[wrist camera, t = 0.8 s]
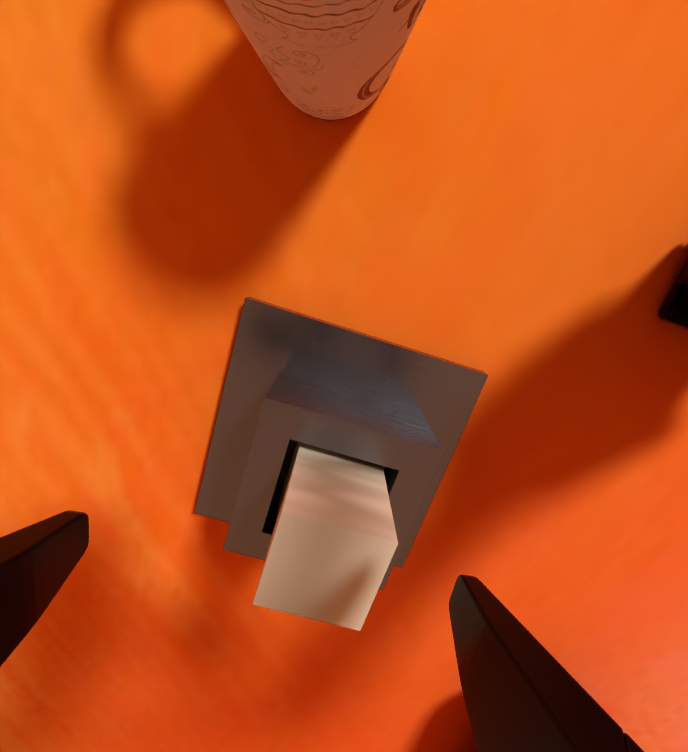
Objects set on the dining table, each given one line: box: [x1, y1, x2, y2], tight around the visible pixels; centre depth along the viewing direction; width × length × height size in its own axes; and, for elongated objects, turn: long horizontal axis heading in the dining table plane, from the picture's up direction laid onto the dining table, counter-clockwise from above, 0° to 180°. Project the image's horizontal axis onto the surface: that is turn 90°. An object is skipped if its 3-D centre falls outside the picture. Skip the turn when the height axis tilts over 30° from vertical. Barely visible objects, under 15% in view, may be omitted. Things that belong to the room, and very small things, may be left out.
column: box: [253, 441, 398, 631], centre depth 16 cm, size 4×4×9 cm
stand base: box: [195, 297, 488, 590], centre depth 18 cm, size 14×14×7 cm
